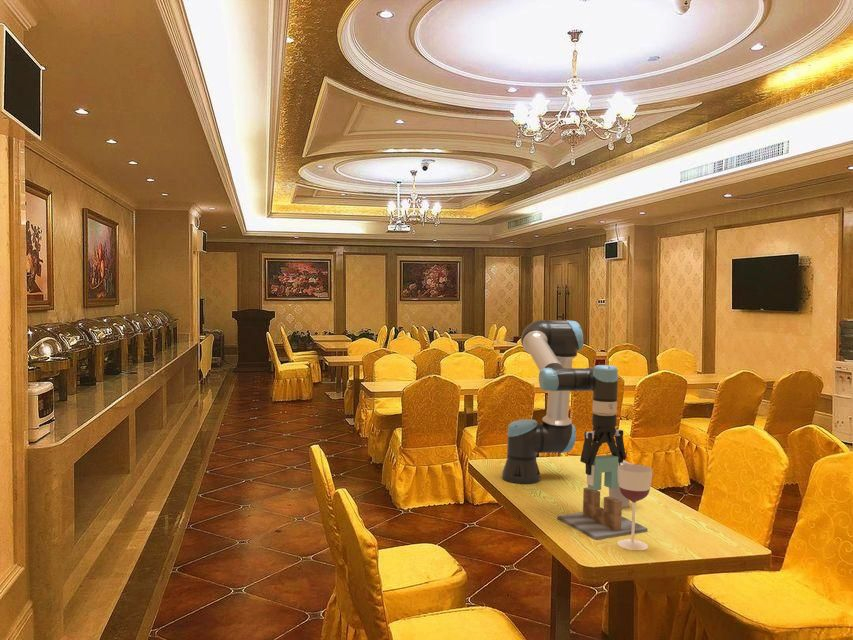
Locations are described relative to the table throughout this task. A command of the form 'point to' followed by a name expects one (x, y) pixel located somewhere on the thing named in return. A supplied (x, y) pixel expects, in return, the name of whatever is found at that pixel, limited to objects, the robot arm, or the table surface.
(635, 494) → the wineglass
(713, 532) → the table surface
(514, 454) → the robot arm
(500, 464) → the table surface
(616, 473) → the green arch block
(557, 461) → the table surface
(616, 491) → the coffee cup
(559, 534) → the table surface
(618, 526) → the joint base
